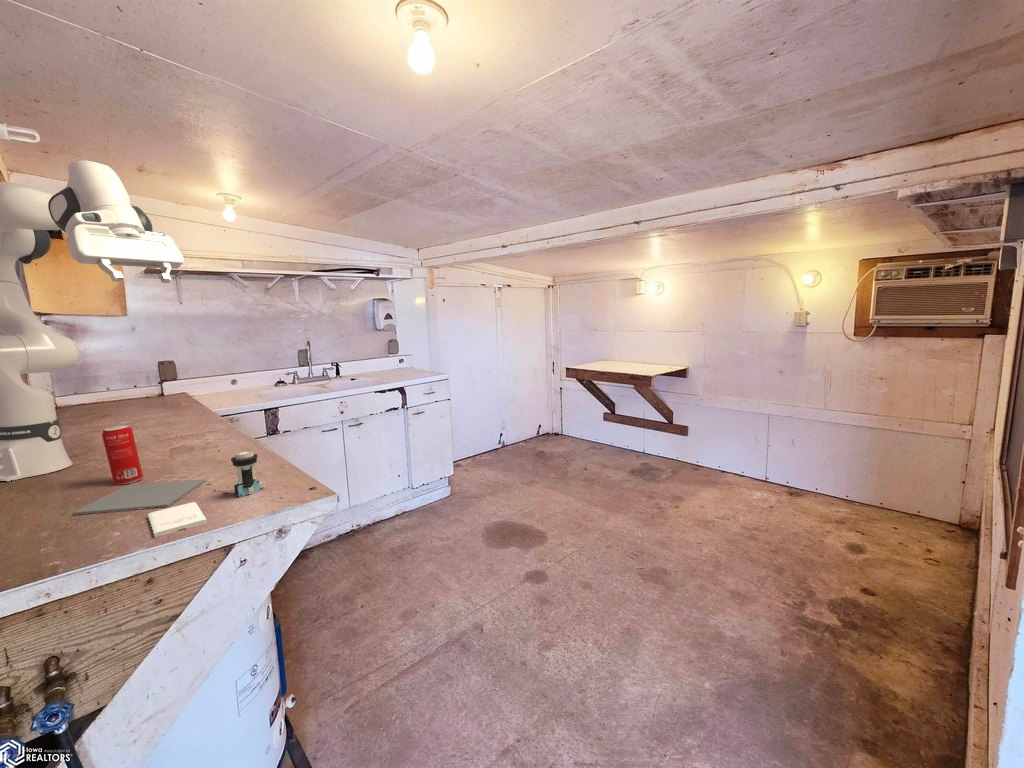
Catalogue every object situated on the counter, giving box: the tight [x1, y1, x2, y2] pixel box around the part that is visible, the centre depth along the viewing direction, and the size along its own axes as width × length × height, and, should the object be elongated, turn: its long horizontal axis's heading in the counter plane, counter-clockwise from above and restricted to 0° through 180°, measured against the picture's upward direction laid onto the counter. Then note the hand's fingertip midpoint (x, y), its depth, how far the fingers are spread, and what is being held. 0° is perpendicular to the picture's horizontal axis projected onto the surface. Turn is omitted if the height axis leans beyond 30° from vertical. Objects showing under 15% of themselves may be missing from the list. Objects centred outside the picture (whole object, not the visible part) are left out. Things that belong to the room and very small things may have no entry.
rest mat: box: [72, 479, 207, 516], centre depth 98 cm, size 18×16×1 cm
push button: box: [230, 450, 266, 498], centre depth 99 cm, size 7×5×10 cm
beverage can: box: [101, 424, 144, 485], centre depth 108 cm, size 6×6×15 cm
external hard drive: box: [147, 501, 208, 538], centre depth 86 cm, size 2×8×12 cm
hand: (143, 281), depth 96 cm, fingers open, 8 cm apart
